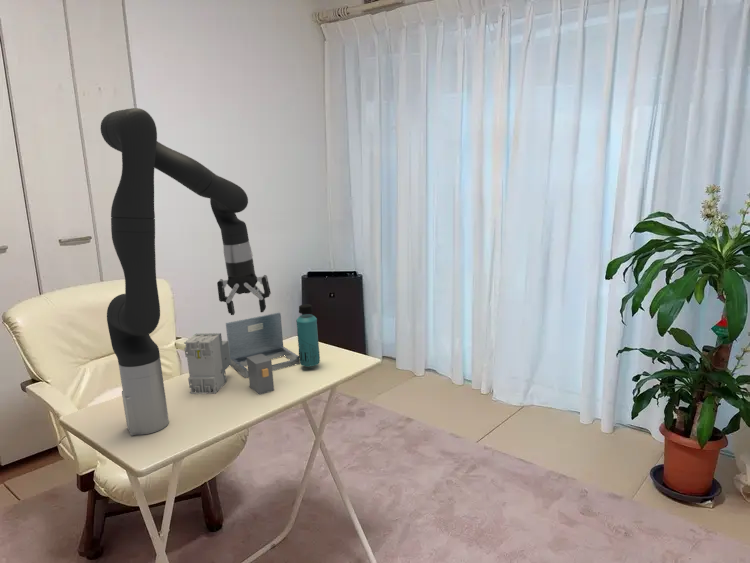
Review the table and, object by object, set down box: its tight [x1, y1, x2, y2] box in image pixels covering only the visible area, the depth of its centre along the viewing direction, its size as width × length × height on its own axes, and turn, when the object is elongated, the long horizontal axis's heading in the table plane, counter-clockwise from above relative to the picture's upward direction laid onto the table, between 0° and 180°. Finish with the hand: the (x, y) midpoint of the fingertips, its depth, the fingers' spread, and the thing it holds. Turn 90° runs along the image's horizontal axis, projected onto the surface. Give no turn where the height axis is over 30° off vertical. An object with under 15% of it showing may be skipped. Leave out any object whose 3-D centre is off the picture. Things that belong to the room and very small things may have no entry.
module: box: [247, 354, 275, 396], centre depth 152 cm, size 4×8×9 cm, turn 33°
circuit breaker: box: [183, 332, 230, 395], centre depth 157 cm, size 8×14×15 cm, turn 174°
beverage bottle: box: [296, 303, 321, 367], centre depth 165 cm, size 6×7×20 cm
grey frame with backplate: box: [225, 312, 301, 379], centre depth 170 cm, size 18×13×14 cm
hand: (247, 312), depth 156 cm, fingers open, 8 cm apart
